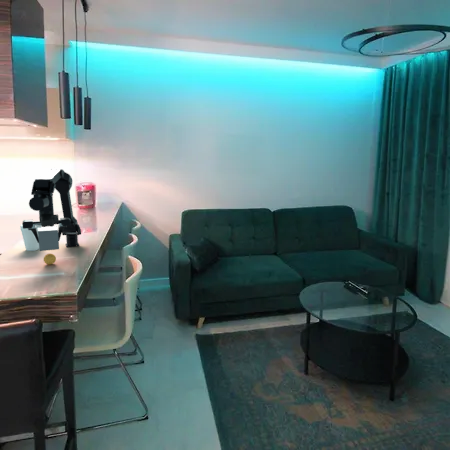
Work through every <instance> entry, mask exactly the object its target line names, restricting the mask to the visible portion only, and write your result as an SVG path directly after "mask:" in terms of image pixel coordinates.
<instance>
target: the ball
mask: <svg viewBox="0 0 450 450" xmlns="http://www.w3.org/2000/svg"><path fill="white" fill-rule="evenodd" d="M56 261H57V257H56V255H55V254H53V253H47V254H45V255H44V257H43V263H45V264H46V265H48V266H49V265H53V264H55V262H56Z"/></svg>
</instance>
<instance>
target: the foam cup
mask: <svg viewBox="0 0 450 450" xmlns="http://www.w3.org/2000/svg"><path fill="white" fill-rule="evenodd" d="M38 228H42V226H41V225H38V226H36V230H37V234H38ZM19 229H20V232H21V235H22V239H23V242H24V243H23V244H24V247H25V250H26V251H30V252H31V251H33V252H34V251H37V250H39V243H38V242H37V240H36V238H35V236H34V234H33V232H32V231H31V230H28V228H25V229H24V228H23V225H22V224H20V228H19Z"/></svg>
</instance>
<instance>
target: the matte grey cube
mask: <svg viewBox="0 0 450 450" xmlns="http://www.w3.org/2000/svg"><path fill="white" fill-rule="evenodd" d="M41 227H42V226H41ZM38 239H39V249H38V250H39V252H44V251H56V250H60V240H59V239H58V226H52V227H50V226H47V227H42V228H38Z"/></svg>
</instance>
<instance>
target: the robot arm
mask: <svg viewBox="0 0 450 450" xmlns="http://www.w3.org/2000/svg"><path fill="white" fill-rule="evenodd" d="M32 183H33V184H32V187H31V188H32V189H31V193H30V194H31V195H32V196H33V197H31V198H30V199H29V202H28V206H29V208H30V209H31V210H33V211H35V212H36V211H37V212H38V216H39V217H38V219H39V220H35V221H34V220H33V219H23V220H22V224H21V225H23V228H24V229H25V228H28V230H31V231H32V232H33V234H34V236H35V238H36V240H37V242H38V243H39V239H38V234H37V230H36V226H38V225H41V227H55V225H58V226H57V229H58V239H59V241H60V239H61V236H65V240H66V243H65V247H66V248H70V247H79V246H80V244H79V238H78V236H80V235H82V229H81V227H80V224H78V223H79V222H78V220H77V218H76V217H75V216H74V212H73V206H72V198H71V194H70V191H71V188H72V186H73V178H72V176H71V175H70V173H68V172H65V170H64V169H62V168H51V169H50V171H48V173H47V174H45V176H40V177H37V178H35V179H34V181H33V182H32ZM55 191H57V192H58V194H59V196H60V197H59V198H60V203H61V209H62V210H61V211H62V214H63V217H60V218H59V215H58V214H55V213H54V199H53V198H54V197H53V195H54V192H55Z"/></svg>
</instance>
